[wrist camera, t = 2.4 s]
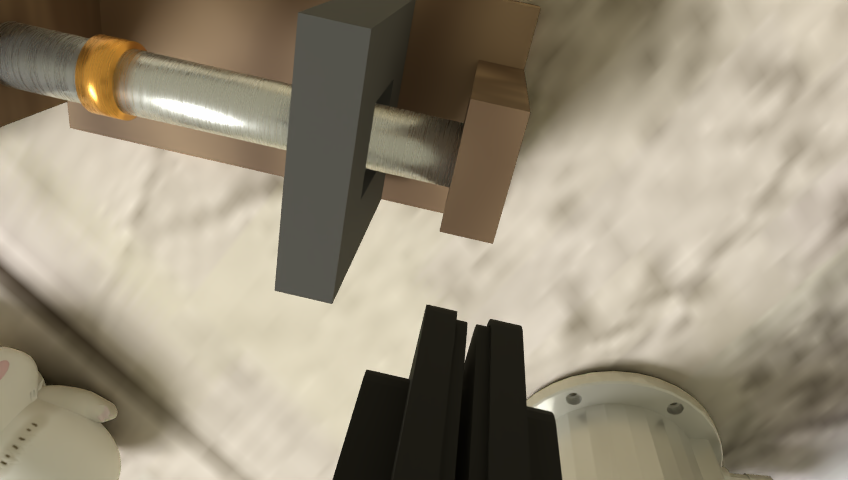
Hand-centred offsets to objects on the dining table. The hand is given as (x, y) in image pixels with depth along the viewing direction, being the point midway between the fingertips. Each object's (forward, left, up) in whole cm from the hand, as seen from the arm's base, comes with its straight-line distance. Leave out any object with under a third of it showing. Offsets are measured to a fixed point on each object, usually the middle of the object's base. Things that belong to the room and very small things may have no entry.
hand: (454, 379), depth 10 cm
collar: (+5, 0, -17) cm, 18 cm away
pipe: (+9, -1, -14) cm, 17 cm away
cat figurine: (+28, +21, -19) cm, 40 cm away
